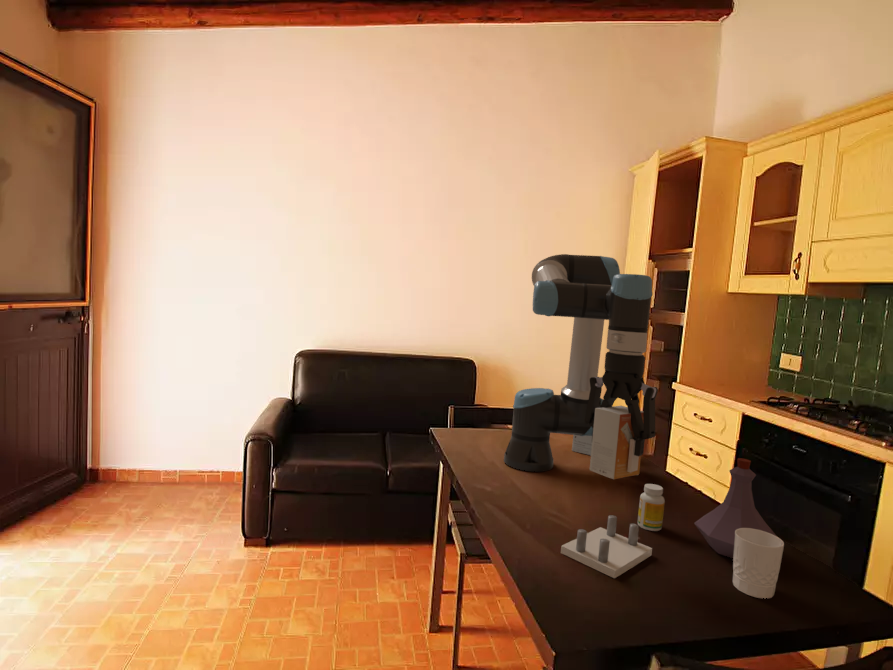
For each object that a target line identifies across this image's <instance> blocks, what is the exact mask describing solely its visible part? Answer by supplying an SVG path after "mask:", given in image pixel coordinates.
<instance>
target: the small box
mask: <svg viewBox="0 0 893 670" xmlns="http://www.w3.org/2000/svg"><path fill="white" fill-rule="evenodd" d="M640 411H641V415H642V420H643V410H640ZM643 424H644V421H643ZM632 438H634V433H633V428H632V424H631V413H629V411H628V407H627V406H626V405H625V406H624V405H615V406H614V405H612V407H607V408H604V407H603V408H595V416H594V428H593V438H592V449H591V455H590V461H589V463H590V464H589V471H590V472H593V473H596V474H598V475H601V476H604V477H606V478H609V479H611V480H617V479H622V478H626V477H632V476H639V474H640V471H641V469H640V468H641V459H642V455H641V456H639V460H638V470H637V471H634V472H627V469H628V459H629V448H630V439H632Z"/></svg>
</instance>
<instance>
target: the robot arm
mask: <svg viewBox="0 0 893 670" xmlns="http://www.w3.org/2000/svg"><path fill="white" fill-rule="evenodd" d="M620 271H621V270H620V266H619V263H618V261H617V260H616V259H615V258H614V257H609V256H602V255H586V254H585V255H583V254H581V255H580V254H566V253H563V254H555V255H551V256H548V257H545V258H543V259H542V260H540V261H538V263H536V264H535V266H534V267H533V269H532V272H531V283H532V285H533V293H532V295H533V296H532V312H533V313H534V314H536V315H538V316H539V315H540V316H546V317H562V318H563V317H564V318H565V317H566V318H573V327H572V335H571V336H572V337H571V342H570V343H571V344H570V345H571V346H570V352H569V353H570V355H569V363H568V373H567V382H566V385H565V386H563V387H562V388H561V391H560V394H555V393H554V390H553V389H551V388H543V387H531V388H525V389H524V388H523V389H521V390H519V391H517V392H516V393H515V395H514V400H513V406H512V407H513V413H512V414H513V416H512V425H511V426H512V427H511V436H510V440H509V441H508V445H507V446H506V449H505V452H504V454H503V462H505V463H506V464H507V465H506V464H505V463H504V464H505V465H506V466H508V465H509V466H508V467H510V466H511V467H510V468H512V467H513V469H515V468H516V470H519V469H520V470H519V471H524V470H525V471H526V472H534V471H535V472H547V471H550V470H552V469H553V468H554V457H553V452H552V448H551V447H552V446H551V444H550V440H551V439H550V436H551V434H562V435H572V436H573V435H579V436H592V438H593V428H594V416H595V408H603V407H604V408H607V407H612V406H614V403H615V401H617V399H620V400H623V401H624V403H625V406H626V407H628V411H629V413H631V424H632V428H633V433H634V438H632V439H630V448H629V459H628V469H627V472H634V471H637V470H638V460H639V456H641V457H642V456H643V454H644V450H645V441H646V440H649V439H652V438H653V439H654V438H655V436H656V399H657V395H658V392H659V389H658V387H656V386H650V385H648V384H646V383H645V380H644V374H645V364H646V356H645V355H644V354H643V353H646V352H647V345H648V333H649V331H648V330H649V324H650V323H649V322H650V321H649V320H650V313H651V304H652V303H651V302H652V296H653V279H652V277H651V276H649V275H646V274H636V273H633V274H632V273H621V272H620ZM605 320H606V321H608V325H607V326H608V327H607V336H606V337H607V338H606V347H605V348H606V349H607V350H608V351H606V353H605V357H604V368H603V369H604V373H603V375H602V376H599V367H600V358H601V351H602V343H603V336H604V335H603V334H604V333H603V332H604V326H605ZM603 385H604V386H605V389H606V390H605V392H604V395H603V397H602V398H601V395H602V390H603V389H602V388H603ZM641 391H642V393H641V394H642V396H643V401H642V402H643V403H642V404H643V405H642V406H643V410H641V407H640V398H639V394H640V392H641ZM641 411H643V420H642V415H641ZM643 421H644V424H643Z"/></svg>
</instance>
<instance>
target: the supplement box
mask: <svg viewBox="0 0 893 670" xmlns="http://www.w3.org/2000/svg"><path fill="white" fill-rule="evenodd" d="M572 436H573V437H572V446H571V451H572V452H575V453H580V454H584V455H588V456H591V449H592V436H579V435H572Z"/></svg>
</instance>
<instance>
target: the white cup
mask: <svg viewBox="0 0 893 670" xmlns="http://www.w3.org/2000/svg"><path fill="white" fill-rule="evenodd" d="M775 535H776V534H775ZM775 535H773V534H770V533H768V532H765V531H761V530H757V529H752V528H739V529H736V530H735V540H734V555H733V559H732V561H733V562H732V570H733V572H732V585H733V586H734V587H735V588H736V589H737V590H738V591H739V592H741V593H743V594H745V595H748V596H751V597H754V598H758V599H763V598H764V600H765V599H766V598H767V599H772V598H773V597H774V596H775V592H776V587H777V582H778V579H779V573H780V570H781V563H782V560H783V559H782V558H783V552H784V547H785V542H784V540H782V539H781V538H780V537H778V536H777V535H776V536H775ZM767 599H766V600H767Z"/></svg>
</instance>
